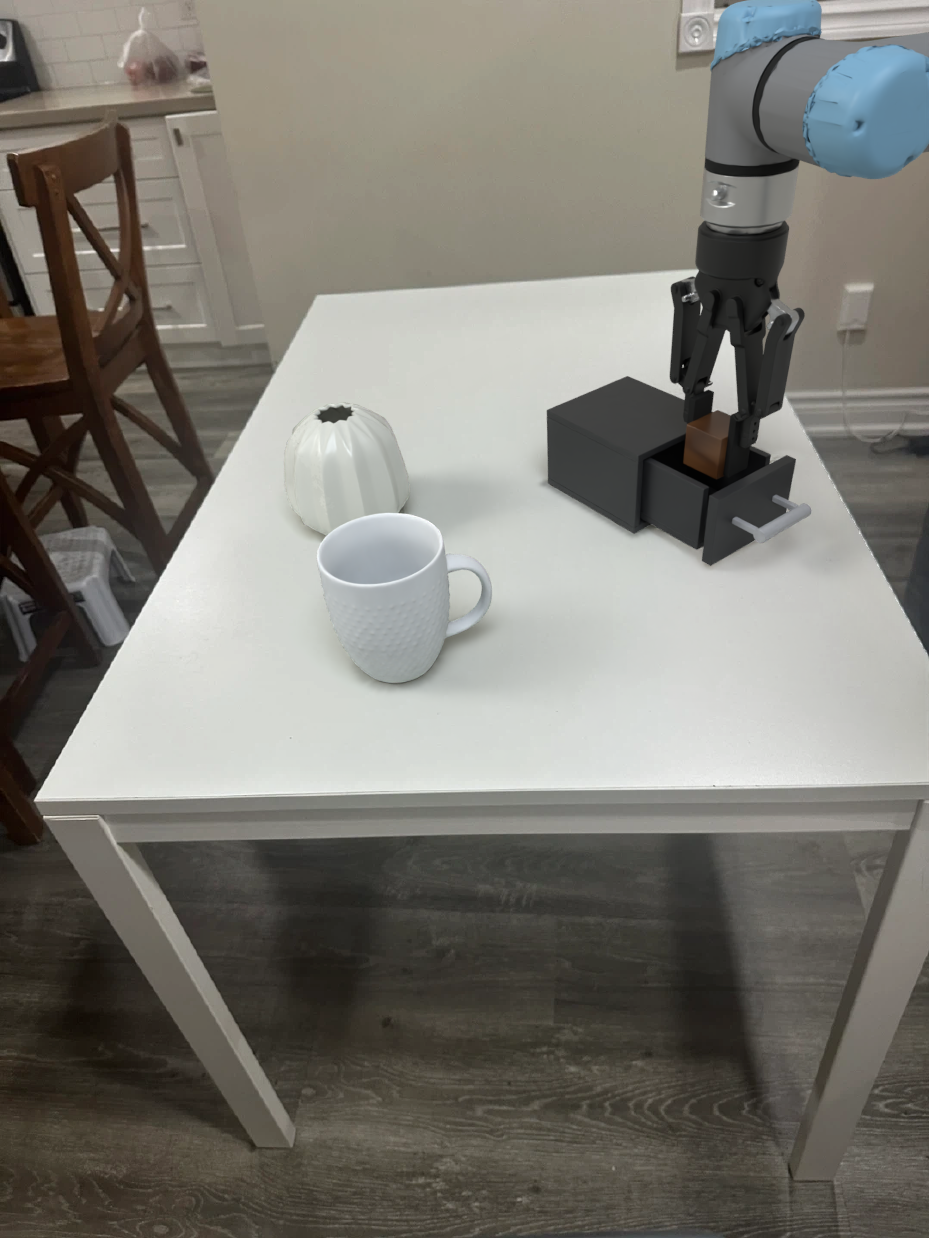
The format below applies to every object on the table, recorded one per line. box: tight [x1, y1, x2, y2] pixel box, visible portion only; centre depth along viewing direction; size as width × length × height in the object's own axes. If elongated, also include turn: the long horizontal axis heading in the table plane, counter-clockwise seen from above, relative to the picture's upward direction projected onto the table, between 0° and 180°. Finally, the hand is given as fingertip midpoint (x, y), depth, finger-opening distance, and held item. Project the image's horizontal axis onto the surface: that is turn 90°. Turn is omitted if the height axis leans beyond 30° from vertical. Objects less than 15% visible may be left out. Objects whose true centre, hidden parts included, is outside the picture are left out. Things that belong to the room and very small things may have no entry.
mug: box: [316, 512, 493, 684], centre depth 78 cm, size 15×11×13 cm
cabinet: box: [546, 375, 687, 534], centre depth 99 cm, size 15×13×10 cm
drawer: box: [640, 440, 813, 567], centre depth 90 cm, size 18×11×8 cm, turn 36°
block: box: [683, 409, 731, 480], centre depth 87 cm, size 4×4×4 cm
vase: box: [283, 401, 411, 537], centre depth 97 cm, size 14×14×13 cm
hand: (715, 461), depth 89 cm, fingers closed on block, 4 cm apart
